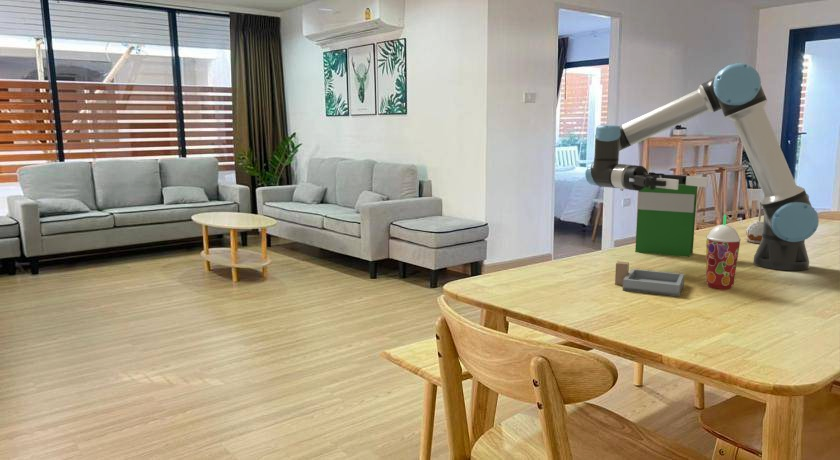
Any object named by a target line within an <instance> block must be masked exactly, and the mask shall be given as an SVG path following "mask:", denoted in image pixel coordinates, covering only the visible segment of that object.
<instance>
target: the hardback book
mask: <svg viewBox="0 0 840 460" xmlns="http://www.w3.org/2000/svg"><path fill="white" fill-rule="evenodd" d="M698 188H699V186H689V185H685V184H678V190H674V189H665V188H656V186H655V190H650V186H649V187H648V188H646V187H644V188H643V189H642V190H640V191H638V197H637V198H638V199H637V213H636V214H637V216H636V217H637V218H636V232H635V234H636V235H635V250H634V252H635V253H638V254H639V253H643V254H651V255H661V256H672V257H674V256H675V257H682V258H691V254H693V252H694V240H695V227H696V226H695V225H696V212H697V200H698Z"/></svg>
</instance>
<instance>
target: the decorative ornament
mask: <svg viewBox="0 0 840 460" xmlns="http://www.w3.org/2000/svg"><path fill="white" fill-rule="evenodd" d="M762 209H763V207H762V204H761V202H759V208H758V211H759V212H758V219H757V220H758V221H757V220H755V221H754V222H751V223H749V224H748V226H747V228H746V229H745V235H746V236H747V237H746V238H745V241H746V242H750V243H753V244H760V242H761V240H762V232H763V221H761V218H762Z"/></svg>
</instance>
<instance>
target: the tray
mask: <svg viewBox="0 0 840 460" xmlns="http://www.w3.org/2000/svg"><path fill="white" fill-rule="evenodd" d="M629 268H630V262H628V261H617V262H615V276H614V277H615V278H614V281H615V282H614V285H617V286H622V291H624V292H625V291H627V292H634V293H644V294H651V295H652V294H653V295H654V294H655V295H660V296H668V297H677V298H678V297H679V296H680V294H681V292H682V290H683V287H684V283H685V273H680V272H679V273H678V272H667V271H666V272H665V271H656V270H648V269H636V268H631V269H630V270H629Z"/></svg>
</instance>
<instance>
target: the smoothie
mask: <svg viewBox="0 0 840 460" xmlns="http://www.w3.org/2000/svg"><path fill="white" fill-rule="evenodd" d="M722 222H723V223H722V224H719V225H716V226H714V227H713V228H712V229H711V230H710V231H709V233H708V235H707V236H706V237H705V238H706V245H705V246H706V249H705V252H706V254H705V255H706V257H705V259H706V261H705V262H706V264H705V265H706V266H705V275H706V277H705V278H706V279H705V282H706V283H707V287H708V288H710V289H713V290H720V291H728V290H731V289H732V286H734V283H735V278H736V277H735V276H736V270H737V264H738V258H739V251H740V245H741V241H742V240H741V238H740V236H739V233H738V232H737V230H736V229H735V228H734V227H732V226H731V225H728V224H727V214H723V221H722Z"/></svg>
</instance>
